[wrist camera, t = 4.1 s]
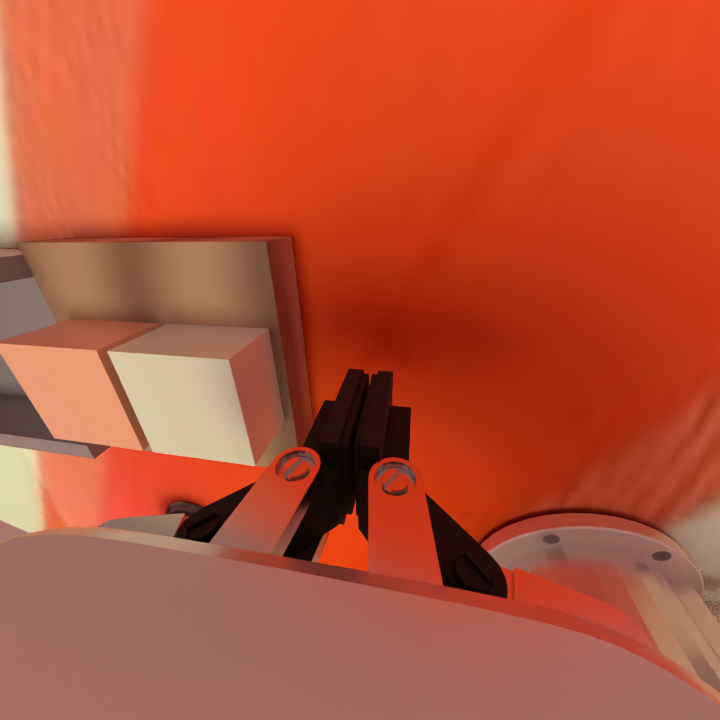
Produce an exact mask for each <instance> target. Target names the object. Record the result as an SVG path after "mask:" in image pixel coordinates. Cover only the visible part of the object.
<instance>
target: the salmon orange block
mask: <svg viewBox="0 0 720 720" xmlns="http://www.w3.org/2000/svg"><path fill="white" fill-rule="evenodd" d="M159 327H160V326H159V323H146V322H126V321H106V320H85V319H69V320H65V321H62V322H59V323H56V324H53V325H50V326H46V327H43V328H40V329H37V330H34V331H30V332H27V333H24V334H21V335H18V336H15V337H11V338H8V339H5V340H2V341H0V354H1V355H2V357H3V358H4V360H5V361H6V363H7V365H8V366H9V368H10V369H11V371H12V372H13V374H14V376H15V377H16V379H17V380H18V382H19V383H20V385H21V387H22V388H23V390H24V391H25V393H26V394H27V396H28V398H29V399H30V401H31V402H32V404H33V405H34V407H35V409H36V410H37V412H38V413H39V415H40V416H41V418H42V420H43V421H44V423H45V424H46V426H47V427H48V429H49V431H50V432H51V434H52V435H53V437H54V438H56V439H63V440H70V441H77V442H85V443H92V444H99V445H106V446H114V447H121V448H128V449H135V450H144V449H146V448H147V447H148V446H149V443H148V440H147V438H146V436H145V434H144V431H143V429H142V427H141V425H140V423H139V420H138V418H137V416H136V414H135V412H134V409H133V407H132V405H131V403H130V401H129V398H128V396H127V394H126V392H125V389H124V387H123V385H122V383H121V381H120V378H119V376H118V374H117V372H116V370H115V367H114V365H113V363H112V361H111V359H110V356H109V354H108V352H107V351H108V350H111V349H113V348H115V347H117V346H120V345H122V344H124V343H126V342H128V341H131V340H133V339H135V338H137V337H139V336H142V335H144V334H146V333H148V332H150V331H153V330H155V329H157V328H159Z"/></svg>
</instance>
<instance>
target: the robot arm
mask: <svg viewBox="0 0 720 720" xmlns="http://www.w3.org/2000/svg"><path fill="white" fill-rule="evenodd" d="M392 388H393V372H388V371H378V374H373V375H372V378H371V382H370V385H369V374H364V371H363V370H358V369H349V370H348V372H347V374H346V377H345V379H344V381H343V384H342V386H341V388H340V391H339V393H338V395H337V398H336V400H335V401H328V400H326V401H324V403H323V405H322V407H321V409H320V411H319V413H318V415H317V417H316V419H315V422H314V424H313V426H312V428H311V430H310V432H309V434H308V436H307V438H306V440H305V442H304V445H303V447H294V448H290V449H287V450H285V451H283V452H282V453H280V454H279V455H278V456H277V457H276V458H274V460H273V461H272V462H271V463H270V465H269V466H268V467H267V469H266V470H265V471H264V472H263V474H262V475H261V476H260V478H259V479H258V480H257V482H254V483H252V484H250V485H248V486H246V487H244V488H242V489H240V490H238V491H236V492H234V493H232V494H230V495H228V496H226V497H224V498H222V499H220V500H218V501H216V502H214V503H212V504H210V505H208V506H206V507H204V508H202V509H200V510H198V511H196V512H195V513H193V514H192V515H190V516H189V517H186V515H185V513H181V514H168V515H155V516H142V517H129V518H118V519H114V520H109V521H107V522H105V523H103V524H101V525H99V526H97V527H67V528H57V529H48V530H43V531H38V532H33V533H29V534H24V535H19V536H16V537H12V538H9V539H5V540H3V541H0V720H720V621H719V620H718V619H716V618H715V617H714V616H713V614H712V613H711V611H710V610H709V609H708V607H707V606H706V604H705V603H704V602H703V600H702V599H703V594H704V588H705V586H704V582H703V578H702V574H701V573H700V571H699V570H698V569H697V567H696V566H695V564H694V563H693V562H692V560H691V559H690V557H689V556H688V555H687V553H686V552H685V551H684V550H683V549H682V548H681V547H680V546H679V545H678V544H677V543H676V542H675V541H674V540H672V539H671V538H669V537H668V536H666V535H664V534H663V533H661V532H660V531H658V530H655V529H653V528H651V527H648V526H646V525H643V524H641V523H638V522H634V521H631V520H627V519H623V518H619V517H615V516H608V515H601V514H594V513H561V514H550V515H543V516H538V517H534V518H529V519H525V520H522V521H519V522H516V523H513V524H511V525H508V526H506V527H504V528H502V529H501V530H499V531H497V532H495V533H494V534H492V535H491V536H490V537H489V538H487V539H486V540H485V541H484V542H483V543H482V544H481V545H480V544H479V543H477V542H476V541H475V540H474V539H473V538H472V537H471V536H470V535H469V534H468V533H467V532H466V531H465V530H464V529H463V528H462V527H461V526H460V525H459V524H457V523H456V522H455V521H454V520H453V519H452V518H451V517H450V516H449V515H448V514H447V513H446V512H445V511H444V510H443V509H442V508H441V507H440V506H439V505H437V504H436V503H435V502H434V501H433V500H432V499H431V498H430V497H429V496H428V495H427V494H426V493H425V490H424V485H423V480H422V476H421V474H420V471H419V470H418V469H417V467H416V466H415V465H414V464H412V463H411V462H409V442H410V417H411V408H410V407H398V406H392ZM355 499H356V515H358V525H359V530H360V531H361V532H362V534H363V535H364V537H365V538H366V539H367V541H368V572H365V571H360V570H355V569H349V568H344V567H338V566H333V565H327V564H322V563H318V561H319V559H320V556H321V554H322V552H323V549H324V547H325V545H326V542H327V539H328V535H329V531H330V530H331V529H333V528H335V527H336V526H338V524H343V525H344V522H345V518H346V514H351V515H352V513H353V508H354V504H355Z"/></svg>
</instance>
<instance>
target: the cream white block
mask: <svg viewBox="0 0 720 720" xmlns="http://www.w3.org/2000/svg"><path fill="white" fill-rule="evenodd" d="M107 352H108V354H109V356H110V359H111V361H112V363H113V365H114V367H115V370H116V372H117V374H118V376H119V378H120V381H121V383H122V385H123V387H124V389H125V392H126V394H127V396H128V398H129V401H130V403H131V405H132V407H133V409H134V412H135V414H136V416H137V418H138V420H139V423H140V425H141V427H142V429H143V431H144V434H145V436H146V438H147V440H148V443H149V445H150V447H151V449H152V451H153V452H157V453H164V454H172V455H179V456H186V457H193V458H201V459H208V460H215V461H222V462H230V463H237V464H244V465H251V466H256V464H257V463H258V461H259V460H260V458H261V457H262V455H263V453H264V452H265V450H266V449H267V447H268V446H269V444H270V443H271V441H272V440H273V438H274V436H275V435H276V433H277V432H278V430H279V429H280V427H281V426H282V424H283V423H284V415H283V409H282V404H281V398H280V392H279V386H278V380H277V375H276V369H275V363H274V357H273V351H272V346H271V340H270V334H269V329H267V328H246V327H226V326H206V325H186V324H166V325H164V326H161V327H159V328H157V329H155V330H153V331H150V332H148V333H146V334H144V335H142V336H139V337H137V338H135V339H133V340H131V341H128V342H126V343H124V344H122V345H120V346H117V347H115V348H113V349H111V350H108V351H107Z"/></svg>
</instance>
